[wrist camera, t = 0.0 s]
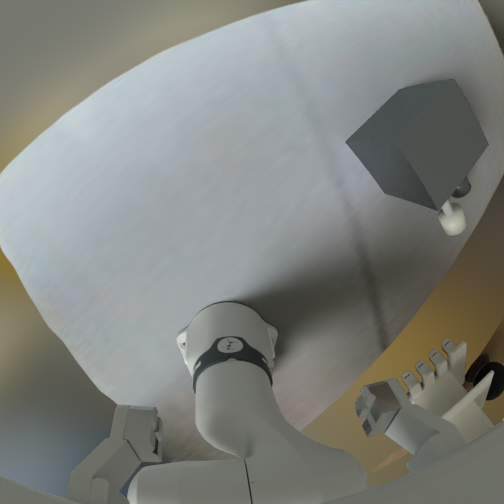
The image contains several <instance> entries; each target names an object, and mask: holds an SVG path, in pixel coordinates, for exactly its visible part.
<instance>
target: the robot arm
mask: <svg viewBox="0 0 504 504" xmlns="http://www.w3.org/2000/svg"><path fill="white" fill-rule="evenodd" d="M277 337H278V331H277V329H276V328H275V327H273V326H272V325H269V324H267V323H266V322H264V321H263V319H262V318H261V317H260V316H259V314H258V313H256V312H255V311H254V310H253V309H251V308H249V307H247V306H245V305H242V304H238V303H231V302H225V303H218V304H214V305H211V306H209V307H207V308H205V309H203V310H202V311H200V312H199V313H198V314H197V315H196V316H195V317H194V319H193V320H192V322H191V323H190V325H189V326H188V327H187V328H185V329H183V330H182V331H180V332H179V333H178V334H177V342H178V345H179V347H180V350H181V352H182V355H183V357H184V359H185V364H187V366H188V369H189V371H190V373H191V376H192V382H193V389H194V392H195V394H196V404H195V422H196V426H197V429H198V431H199V432H200V434H201V435H202V436H203V438H204V439H206V440H207V441H208V442H209V443H210V444H211V445H213V446H214V447H216V448H218V449H220V450H222V451H225V452H228V453H231V454H233V455H236V456H238V457H240V458H242V459H235V460H218V461H181V462H174V463H167V464H160V465H153V466H146V467H144V468H142V469H141V470H140V471H139V472H138V473H137V474H136V476H135V477H134V478H133V480H132V482H131V484H130V486H129V490H128V496H127V498H128V499H127V498H125V497H124V496H123V495H122V494H121V493H120V492H119V491H120V489H121V488H122V487H123V485H124V484H125V483H126V481H127V480H128V479H129V477H130V476H131V475H132V473H133V472H134V471H135V470H136V468H137V467H138V466H139V464H140V463H141V461H145V462H161V460H162V447H161V445H160V441H161V440H162V439H163V426H162V421H161V419H160V418H159V417H158V416H157V415H158V411H157V409H156V407H146V406H131V405H118V406H117V407H116V410H115V415H114V420H113V425H112V430H111V435H110V438H106V439H105V440H104V441H103V442H102V443H101V444H100V445H99V446H98V447H97V448H96V449H95V450H94V451H93V452H92V453H91V454H89V456H87V457H86V458H85V459H84V460H83V461H82V462H81V463H80V464H79V465H78V466H77V467H76V468H75V469H74V470H73V471H72V472H71V477H70V482H69V487H68V492H67V498H66V499H65V498H61V497H58V496H55V495H52V494H48V493H45V492H42V491H39V490H37V489H34V488H31V487H28V486H26V485H23V484H21V483H18V482H16V481H13V480H11V479H8V478H6V477H4V476H1V475H0V504H504V421H502V422H501V423H500V424H498V425H497V426H495V427H494V428H492V429H491V430H489V431H488V432H486V433H485V434H483V435H482V436H480V437H478V438H477V439H475V440H474V441H472V442H470V443H469V444H466V442H465V440H464V439H463V437H462V436H461V434H460V432H459V431H458V429H457V428H456V426H455V424H453V423H451V422H449V421H447V420H445V419H443V418H441V417H439V416H437V415H435V414H434V413H432V412H430V411H428V410H426V409H424V408H422V407H420V406H419V405H417V404H412V403H411V401H410V399H409V398H408V396H407V395H406V393H405V391H404V390H403V388H402V387H401V385H400V383H399V382H398V380H397V379H395V378H392V379H389V380H385V381H380V382H377V383H373V384H369V385H366V386H363V387H362V388H361V390H360V392H361V395H360V396H359V397H358V398H357V401H356V413H357V415H358V418H360V419H361V420H363V421H364V422H363V425H362V426H363V428H364V431H365V433H366V435H367V437H372V436H375V435H379V434H382V433H385V434H386V435H387V436H389V437H390V438H391V439H392V440H394V441H395V442H397V443H398V444H399V445H401V446H402V447H403V448H405V449H406V450H407V451H409V452H410V453H412V454H413V455H414V456H413V457H412V458H411V459H410V460H409V461H408V463H407V467H408V469H409V472H410V474H408V475H405V476H403V477H401V478H398V479H395V480H393V481H390V482H388V483H385V484H382V485H380V486H377V487H374V488H371V489H368V479H367V476H366V472H365V470H364V468H363V467H362V465H361V464H360V462H359V461H358V460H357V459H356V458H355V457H354V456H352V455H351V454H349V453H348V452H346V451H344V450H341V449H336V448H332V447H329V446H326V445H322V444H320V443H318V442H316V441H314V440H312V439H310V438H308V437H307V436H305V435H303V434H302V433H301V432H299V431H298V430H297V429H295V428H294V427H293V426H292V425H291V424H290V423H289V422H288V421H287V420H286V419H285V417H284V416H283V415H282V413H281V411H280V409H279V406H278V404H277V401H276V399H275V396H274V393H273V390H272V384H273V381H272V376H273V374H272V370H271V369H270V368H274V361H273V359H274V358H275V352H274V347H275V344H276V341H277ZM271 338H272V339H271ZM183 343H185V344H183Z"/></svg>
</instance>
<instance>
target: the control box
mask: <svg viewBox="0 0 504 504" xmlns="http://www.w3.org/2000/svg"><path fill="white" fill-rule="evenodd" d="M346 143H347V145H348V146H349V147H350V148H351V150H352V151H353V152H354V153H355V155H356V156H357V157H358V158H359V160H360V161H361V162H362V163H363V165H364V166H365V167H366V169H367V170H368V171H369V172H370V174H371V175H372V176H373V178H374V179H375V180H376V182H377V183H378V185H379V186H380V187H381V189H382V190H383V191H384V193H385V194H388V195H392V196H395V197H398V198H401V199H404V200H407V201H410V202H413V203H416V204H419V205H422V206H425V207H428V208H431V209H434V210H437V211H439V210H440V209H441V207H442V206H443V205H444V204H445V202H446V201H447V200H448V199H449V197H450V196H451V195H452V194H453V192H454V191H455V190H456V189H457V187H458V186H459V185H460V183H461V182H462V181H463V179H464V178H465V177H466V175H467V174H468V173H469V171H470V170H471V169H472V167H473V166H474V165H475V163H476V162H477V160H478V159H479V158H480V156H481V155H482V153H483V152H484V150H485V149H486V148H487V146H488V145H489V144H488V141H487V139H486V137H485V135H484V133H483V131H482V129H481V127H480V124H479V122H478V120H477V119H476V117H475V115H474V113H473V111H472V109H471V107H470V105H469V103H468V102H467V100H466V98H465V96H464V94H463V93H462V91H461V89H460V88H459V86H458V84H457V83H456V81H455V79H449V80H443V81H438V82H433V83H428V84H423V85H418V86H413V87H409V88H405V89H400V90H398V91H397V92H396V93H395V94H394V95H393V96H392V97H391V98H390V99H389V100H388V101H387V102H386V103H385V104H384V105H383V106H382V107H381V108H380V109H379V110H378V111H377V112H376V113H375V114H374V115H372V116H371V117H370V118H369V119H368V120H367V121H366V122H365V123H364V124H363V125H362V126H361V127H360V128H359V129H358V130H357V131H356V132H355V133H354V134H353V135H352V136H351V137H350V138H349V139H348V140H347V141H346Z"/></svg>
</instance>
